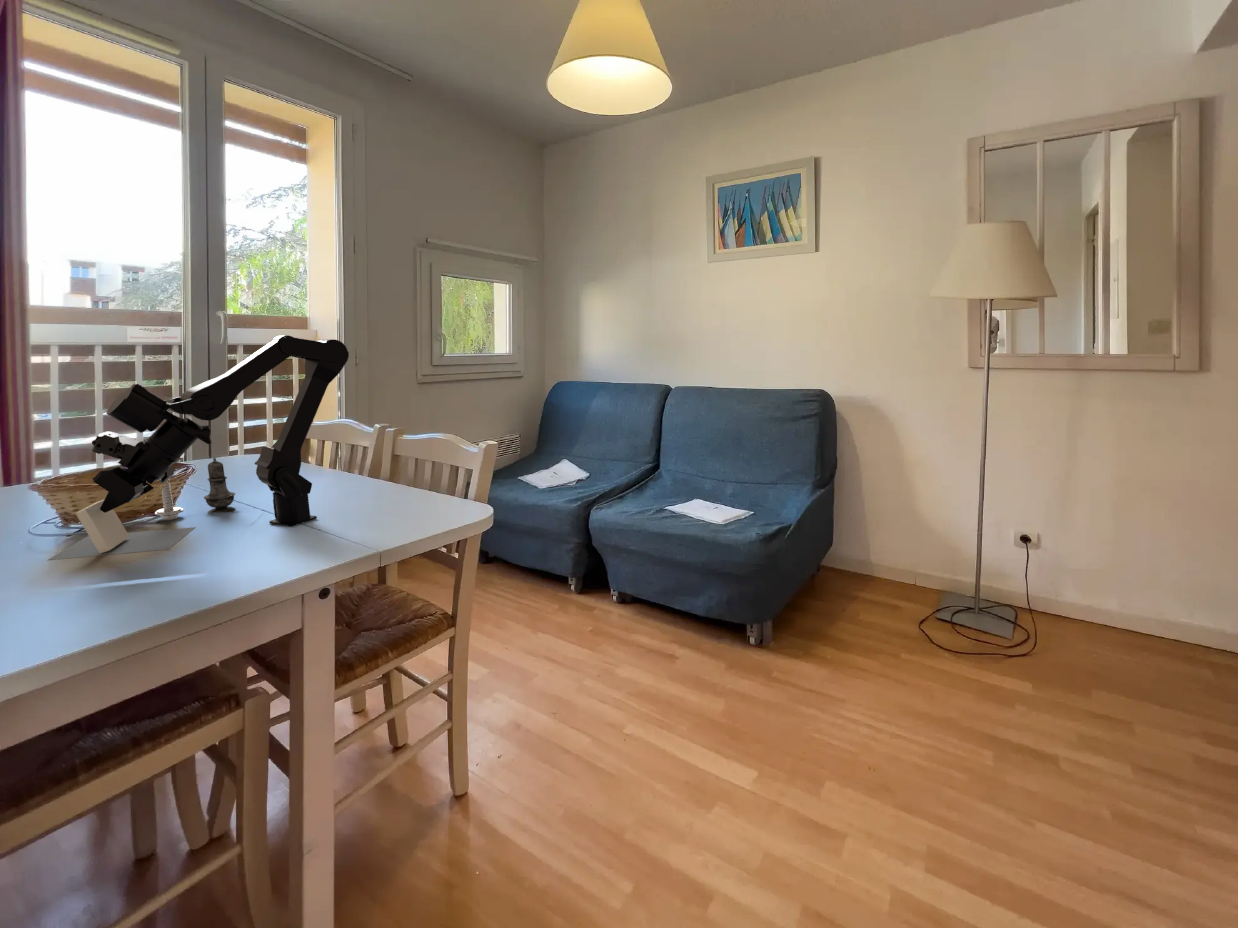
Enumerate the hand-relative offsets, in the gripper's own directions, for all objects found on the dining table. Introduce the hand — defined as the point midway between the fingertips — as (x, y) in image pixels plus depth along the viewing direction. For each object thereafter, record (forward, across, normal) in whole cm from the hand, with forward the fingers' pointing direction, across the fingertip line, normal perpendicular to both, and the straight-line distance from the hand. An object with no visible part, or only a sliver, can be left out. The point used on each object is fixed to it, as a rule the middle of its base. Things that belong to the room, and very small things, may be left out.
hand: (103, 510), depth 114 cm
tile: (+4, 0, +5) cm, 7 cm away
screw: (+3, -18, +8) cm, 20 cm away
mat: (+4, -2, +6) cm, 8 cm away
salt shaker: (-3, -23, +14) cm, 27 cm away
